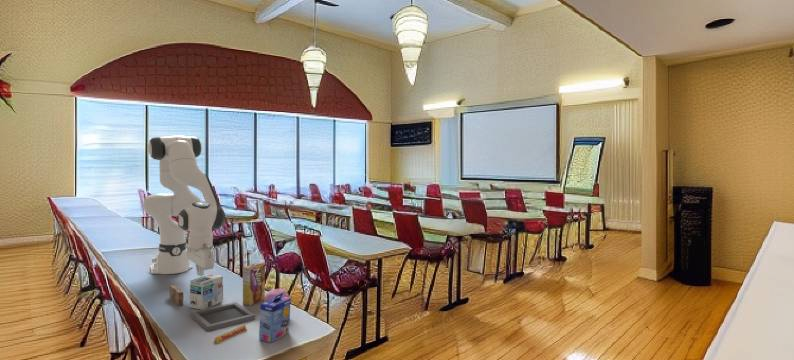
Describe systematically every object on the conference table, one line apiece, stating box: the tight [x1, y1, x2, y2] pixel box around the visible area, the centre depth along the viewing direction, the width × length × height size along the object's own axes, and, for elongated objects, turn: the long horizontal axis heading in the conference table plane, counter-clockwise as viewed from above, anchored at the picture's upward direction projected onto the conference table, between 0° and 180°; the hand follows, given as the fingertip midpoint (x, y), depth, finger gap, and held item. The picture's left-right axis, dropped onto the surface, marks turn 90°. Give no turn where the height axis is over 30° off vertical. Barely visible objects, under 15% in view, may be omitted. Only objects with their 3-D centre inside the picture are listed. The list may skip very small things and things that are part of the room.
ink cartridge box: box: [258, 293, 292, 344], centre depth 137 cm, size 10×6×14 cm, turn 159°
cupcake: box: [263, 288, 290, 302], centre depth 155 cm, size 9×9×10 cm
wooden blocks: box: [169, 284, 224, 306], centre depth 171 cm, size 12×17×5 cm
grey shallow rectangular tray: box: [190, 301, 257, 332], centre depth 151 cm, size 17×17×2 cm
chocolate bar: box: [213, 324, 248, 344], centre depth 136 cm, size 3×12×2 cm, turn 154°
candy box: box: [242, 262, 266, 306], centre depth 168 cm, size 9×4×15 cm, turn 158°
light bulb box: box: [189, 273, 224, 310], centre depth 163 cm, size 11×7×11 cm, turn 160°
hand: (200, 274), depth 169 cm, fingers closed
